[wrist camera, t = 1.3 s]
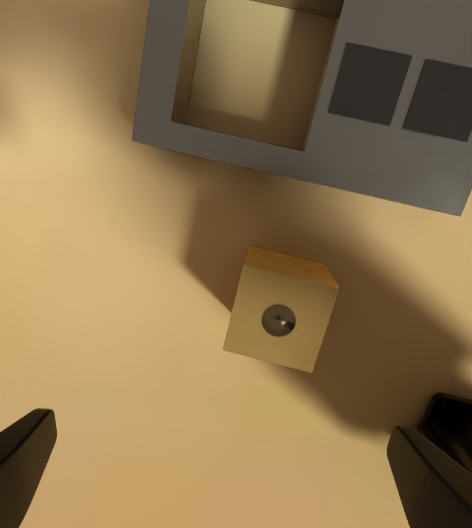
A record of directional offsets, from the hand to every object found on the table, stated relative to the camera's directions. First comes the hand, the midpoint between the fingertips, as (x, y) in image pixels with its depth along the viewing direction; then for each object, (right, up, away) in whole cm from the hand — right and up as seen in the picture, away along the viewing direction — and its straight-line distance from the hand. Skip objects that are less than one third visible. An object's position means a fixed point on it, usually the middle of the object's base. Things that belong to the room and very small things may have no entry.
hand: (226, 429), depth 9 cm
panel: (+4, +13, +8) cm, 16 cm away
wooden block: (+3, +3, +11) cm, 12 cm away
